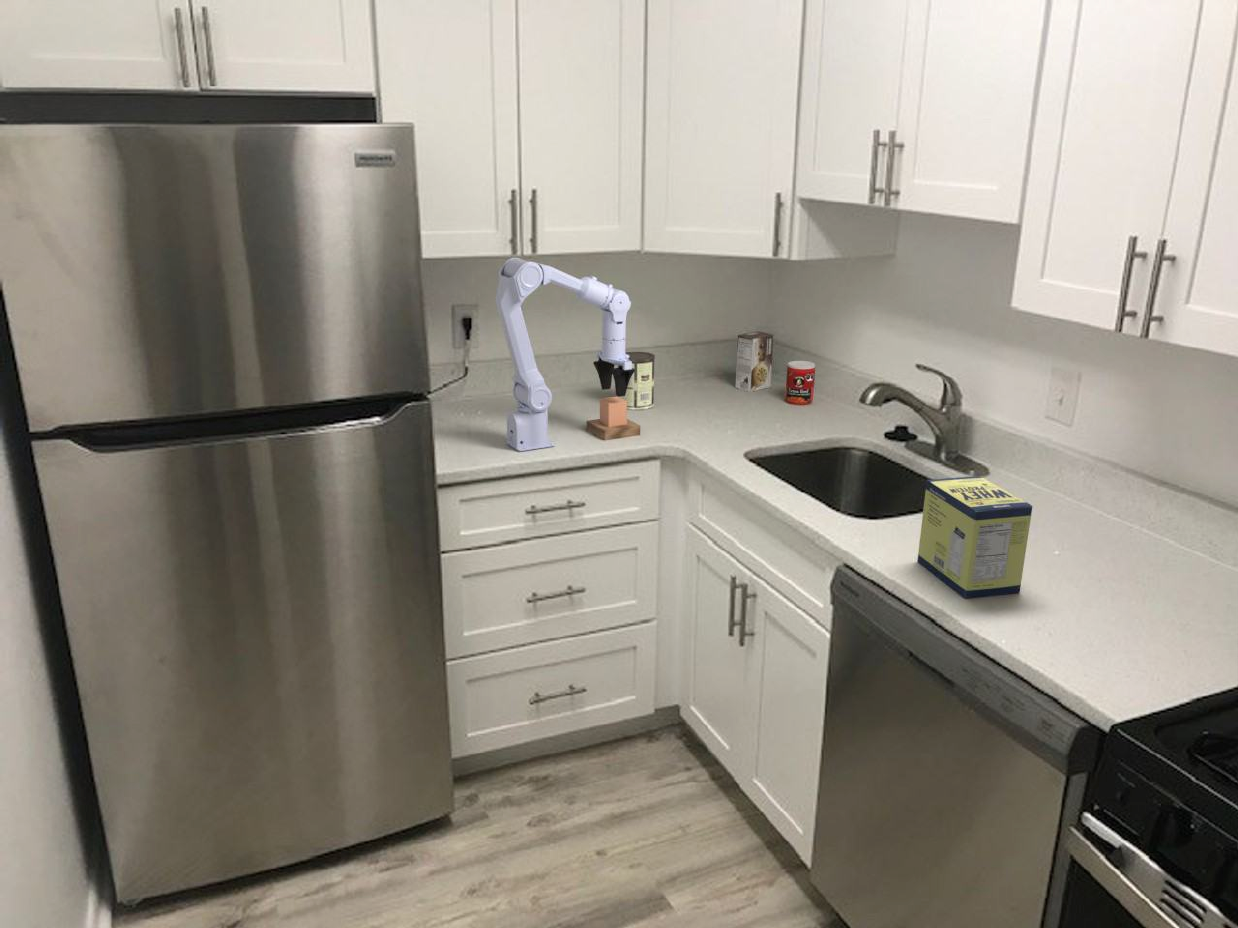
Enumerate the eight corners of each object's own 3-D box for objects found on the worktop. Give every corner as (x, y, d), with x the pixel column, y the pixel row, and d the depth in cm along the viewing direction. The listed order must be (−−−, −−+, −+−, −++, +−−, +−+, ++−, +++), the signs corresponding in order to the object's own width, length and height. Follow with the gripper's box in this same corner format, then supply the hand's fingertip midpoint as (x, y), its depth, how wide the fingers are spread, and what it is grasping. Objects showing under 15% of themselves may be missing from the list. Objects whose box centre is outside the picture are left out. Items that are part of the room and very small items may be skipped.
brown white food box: (755, 383, 294) (758, 330, 288) (771, 387, 289) (774, 334, 284) (734, 388, 288) (737, 334, 283) (750, 392, 283) (753, 337, 278)
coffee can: (629, 398, 275) (630, 349, 271) (660, 404, 270) (662, 354, 266) (609, 406, 267) (609, 356, 263) (641, 412, 262) (642, 361, 257)
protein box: (967, 555, 174) (978, 474, 169) (1021, 593, 160) (1035, 505, 155) (915, 561, 172) (924, 478, 167) (965, 600, 157) (977, 511, 152)
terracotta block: (608, 427, 240) (608, 403, 238) (599, 421, 244) (599, 398, 242) (626, 424, 242) (626, 401, 240) (617, 419, 246) (617, 396, 244)
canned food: (783, 404, 271) (785, 365, 268) (787, 397, 278) (789, 359, 275) (811, 406, 269) (813, 367, 265) (814, 399, 276) (816, 361, 273)
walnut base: (604, 442, 238) (605, 430, 237) (586, 432, 246) (586, 420, 245) (640, 437, 242) (640, 425, 241) (620, 427, 250) (620, 415, 249)
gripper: (643, 342, 232) (642, 397, 236) (613, 331, 244) (613, 384, 248) (617, 345, 229) (616, 400, 233) (589, 334, 241) (589, 387, 245)
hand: (613, 392), depth 240 cm, fingers open, 7 cm apart
